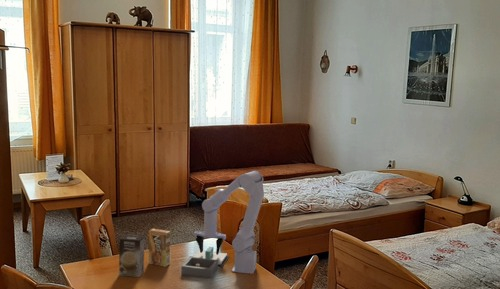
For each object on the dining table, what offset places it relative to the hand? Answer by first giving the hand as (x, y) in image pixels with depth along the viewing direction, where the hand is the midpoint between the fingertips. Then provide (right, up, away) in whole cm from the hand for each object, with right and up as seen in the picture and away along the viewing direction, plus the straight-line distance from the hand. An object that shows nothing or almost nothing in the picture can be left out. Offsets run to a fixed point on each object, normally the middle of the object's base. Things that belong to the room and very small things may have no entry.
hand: (209, 252), depth 216 cm
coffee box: (-31, -5, -18) cm, 36 cm away
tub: (-3, -5, -13) cm, 14 cm away
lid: (0, -2, 0) cm, 2 cm away
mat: (0, -3, 0) cm, 3 cm away
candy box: (-22, -4, -6) cm, 23 cm away
